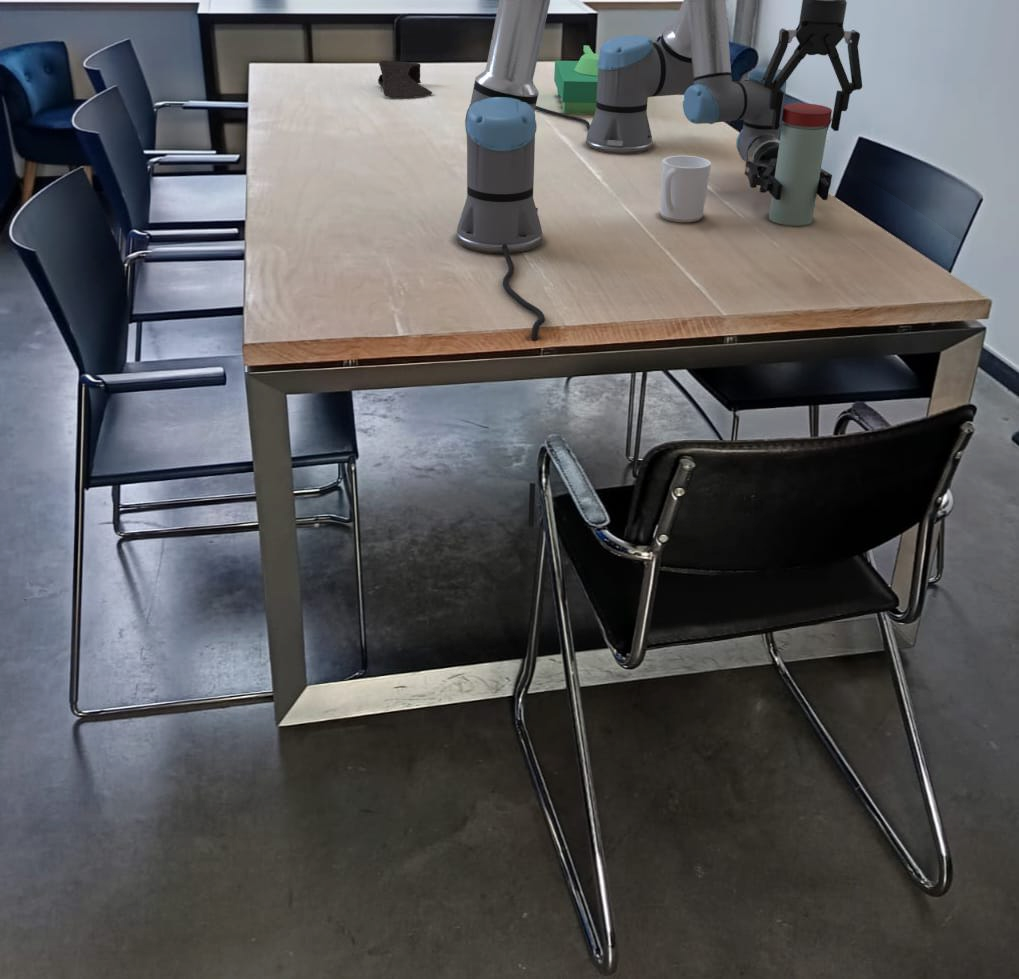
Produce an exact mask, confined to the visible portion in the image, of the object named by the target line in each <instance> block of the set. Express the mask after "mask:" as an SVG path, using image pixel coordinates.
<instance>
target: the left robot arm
mask: <svg viewBox="0 0 1019 979" xmlns="http://www.w3.org/2000/svg"><path fill="white" fill-rule="evenodd" d="M550 5H551V0H499V1H498V5H497V11H496V14H495V15H496V16H495V20H494V25H493V30H492V37H491V41H490V46H489V52H488V55H487V56H488V57H487V61H486V67H485V70H484V71H482V72H481V73H479V74H478V75H477V76H475V79H474V83H473V88H472V94H471V99H470V104H469V106H468V108H467V110H466V113H465V120H464V127H465V133H466V192H467V193H466V198H465V202H464V205H463V209H462V211H461V214H460V218H459V220H458V224H457V228H456V241H457V243H458V244H459V245H461V246H462V247H464V248H466V249H468V250H470V251H475V252H479V253H486V254H497V255H499V254H500V255H504V258H505V262H506V264H507V268H508V270H507V272H506V274H505V276H504V277H503V279H502V287H503V288H504V291H505V292H506V293H507V294H508V295H509V297H511V298H512V299H513V300H514V301H516V302H517V303H518V304H519V306H521V307H523V308H524V309H527V310H528V311H530V312H532V314H534V315H536V316H537V320H536V321H535V322H534V323H533V325H532V328H531V336H530V338H531V339H530V340H531V341H532V342H537V341H538V336H539V335H538V334H539V330H540V327H541V326H542V325H543V324H544V323H545V321H546V317H545V314H544V313H543V312H542V310H540V309H539V308H538V307H537V306H535V305H533V304H532V303H530V302H528V301H527V300H525V299H524V298H522V297H521V295H519V294H518V293H517V292H516V291H515V290H514V289H512V287H511V286H510V284H509V281H510V280H511V278H512V277H513V275H514V271H515V265H514V262H513V259H512V256H511V254H517V253H524V252H527V251H530V250H533V249H536V248H538V247H539V246H540V245H541V244H542V243H543V229H542V224H541V221H540V220H541V219H540V218H539V214H538V213H539V212H538V211H539V209H538V207H537V206H536V204H535V199H534V183H535V181H534V180H535V148H536V147H535V146H536V133H537V128H538V127H537V121H536V113H535V112H536V109H535V107H536V106H537V103H538V97H539V93H540V92H539V90H538V88H537V86H536V85H535V84H534V83H535V82H534V76H535V72H536V67H537V63H538V58H539V54H540V48H541V45H542V40H543V37H544V36H543V35H544V31H545V26H546V21H547V18H548V13H549V9H550ZM847 5H848V1H847V0H802V1H801V7H800V8H801V9H800V15H799V20H798V21H799V22H798V25H797V27H796V28H795V29H786V28H781V29H780V30H779V33H778V42H777V44H776V46H775V49H774V51H773V53H772V56H771V58H770V61H769V63H768V65H767V66H766V67H767V70H766V72H765V74H764V77H763V79H762V84H763V86H764V87H766V88H769V89H770V90H771V93H770V100H769V108H770V109H771V110H773V117H772V125H771V126H772V128H773V129H774V130H778V128H779V122H780V123H781V121H780V115H781V116H782V114H781V108H782V101H783V94H784V92H783V91H782V90H781V87H782V86H783V85H784V83H785V82H786V83H787V80H788V79H789V78H790V77H791V75H792V74H793V73H794V71H795V70H796V68H797V67H798V66H799V64H800V63H801V62H802V60H804V59H805V57H806V56H807V55H808V56H815V55H819V56H827V57H828V58H829V60H830V63H831V65H832V68H833V71H834V73H835V75H836V78H837V80H838V83H839V85H840V88H841V90H836V94H835V100H834V105H833V110H832V116H831V121H830V128H831V129H832V130H833V132H838V131H839V130H840V123H841V118H842V113H843V112H847V110H848V108H849V102H850V98H851V97H850V96H851V94H853V92H854V91H860V90H862V88H863V78H862V69H861V63H860V62H861V61H860V53H859V43H860V38H861V34H860V32H859V31H857V30H856V29H852V30H845V29H844V23H845V17H846V10H847ZM795 37H796V40H797V42H798V45H797V47H796V48H795V49H794V51H793V53H792V55H791V56H790V57H789V59H788V60H787V62H786V63H785V64H784V66H783V67H782V68H781V69H780V70H781V71H780V73H779V74H778V76H777V77H776V78H775V80H774V81H773V79H774V76H775V74H776V72H777V69H779V67H780V64H781V62H782V61H783V58H784V56H785V54H786V52H787V48H788V45H789V44H790V43H792V41H793V39H794V38H795ZM843 39H844V43H845V44H847V54H848V62H849V70H850V78H851V82H850V81H849V78H848V76H847V73H846V71H845V68H844V65H843V63H842V60H841V59H840V54H839V51H838V49H837V46H838V45H839V43H840V42H841V41H842V40H843ZM528 495H529V496H528V520H527V521H528V524H527V525H528V527H532V528H533V527H535V509H536V508H535V507H536V504H535V503H536V483H535V482H529V494H528Z"/></svg>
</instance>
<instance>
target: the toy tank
mask: <svg viewBox="0 0 1019 979" xmlns="http://www.w3.org/2000/svg"><path fill="white" fill-rule="evenodd" d="M599 54H600V53H594V52H593V50H592V49H591V47H590V45H586V44H585V45H583V55H581V57H580V58H579V60H554V73H553V74H554V75H553V81H554V83H555V87H556V89H557V90H556V91H557V92H556V94H557V97H560V101H561V103H562V114H566V115H570V114H571V115H574V114H575V115H594V114H595V111H596V100H597V82H598V60H599Z"/></svg>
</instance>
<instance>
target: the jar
mask: <svg viewBox="0 0 1019 979" xmlns="http://www.w3.org/2000/svg"><path fill="white" fill-rule="evenodd" d="M828 129H829V125H826V126H821V127H804V126H796V125H791V124H788V123H785V122H783V121H782V124H781V131H780V136H779V137H780V138H779V141H780V144H779V150H778V157H777V164H776V171H775V178H776V179H777V180H778V182H779V183H780V184H781V185H782V190H781V197H780V200H776V199H775V198H774V197H773V196H772V195H771V199H770V204H769V212H768V219H769V221H771V222H773V223H775V224H779V225H783V226H788V227H789V226H791V227H803V226H807V225H810V224H811V223H813V219H814V212H815V207H816V201H817V196H818V194H817V189H818V183H819V177H820V171H821V169H822V165H823V158H824V153H825V146H826V142H827V135H828Z"/></svg>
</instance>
